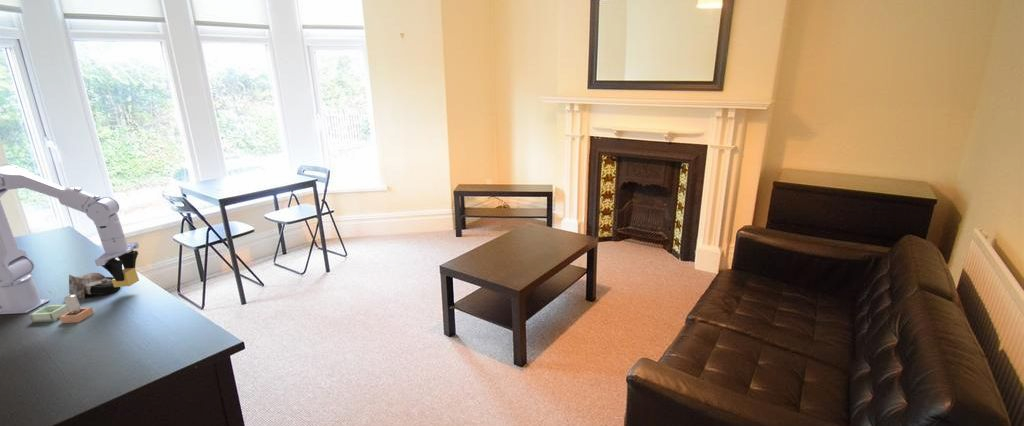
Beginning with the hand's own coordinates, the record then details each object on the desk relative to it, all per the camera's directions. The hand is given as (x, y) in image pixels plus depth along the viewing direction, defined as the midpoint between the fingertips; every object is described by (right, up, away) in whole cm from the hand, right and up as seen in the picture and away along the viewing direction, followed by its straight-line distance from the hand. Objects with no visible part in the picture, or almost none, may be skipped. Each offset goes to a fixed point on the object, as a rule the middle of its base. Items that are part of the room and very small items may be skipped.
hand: (126, 277), depth 149 cm
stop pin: (-4, -10, -12) cm, 17 cm away
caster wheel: (-11, -6, +4) cm, 13 cm away
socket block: (-4, -10, -12) cm, 16 cm away
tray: (-13, -10, -11) cm, 20 cm away
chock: (0, -2, +1) cm, 2 cm away
